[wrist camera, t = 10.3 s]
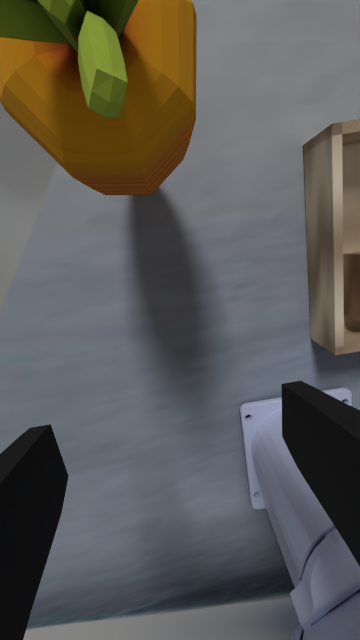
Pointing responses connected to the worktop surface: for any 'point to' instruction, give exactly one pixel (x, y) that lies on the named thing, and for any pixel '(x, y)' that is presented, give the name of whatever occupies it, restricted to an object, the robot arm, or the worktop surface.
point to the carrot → (103, 85)
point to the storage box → (334, 236)
